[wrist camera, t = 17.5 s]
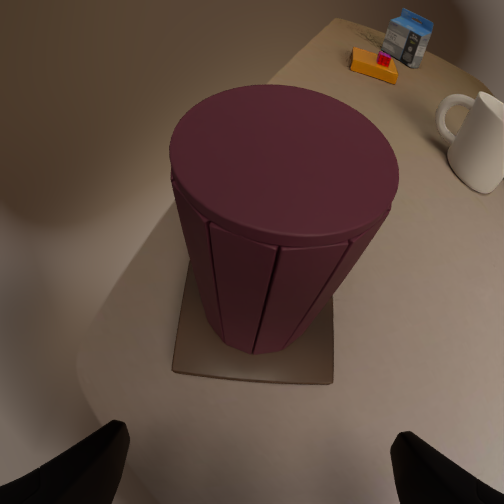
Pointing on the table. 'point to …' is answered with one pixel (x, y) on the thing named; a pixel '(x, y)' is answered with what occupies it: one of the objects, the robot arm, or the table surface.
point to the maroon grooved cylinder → (276, 205)
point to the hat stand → (248, 365)
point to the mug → (475, 140)
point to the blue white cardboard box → (407, 38)
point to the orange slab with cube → (374, 65)
